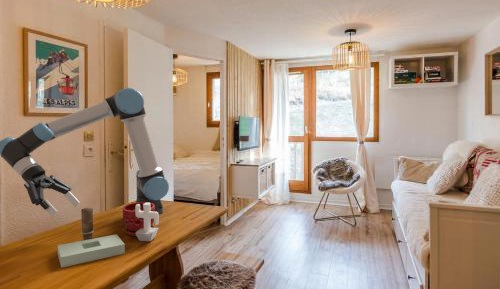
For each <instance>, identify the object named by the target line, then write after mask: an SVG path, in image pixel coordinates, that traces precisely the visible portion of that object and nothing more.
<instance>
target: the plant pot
mask: <svg viewBox="0 0 500 289" xmlns="http://www.w3.org/2000/svg"><path fill="white" fill-rule="evenodd" d="M144 203H146V202H138V203H135V202H133V203H128V204H125V205H124V206H123V207H122V218H123V219H122V220H123V224H124V226H125V233H126V234H127V235H129V236H132V237H137V236H136V234H135V233H136V232H137V231H138V230H139V229H141V228H144V218H137V217H136V214H135V211H133V210H134V209H135V206H136V205H137V204H139V205H140V208H142V210H140V211H144V208H143V204H144ZM150 205H151V207H150V208H151V209H150V211H153V212H155V205H154V204H153V203H150ZM150 224H151V227H152V228H155V227H154V226H155V225H153V224H154V219H153V218H150Z"/></svg>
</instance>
